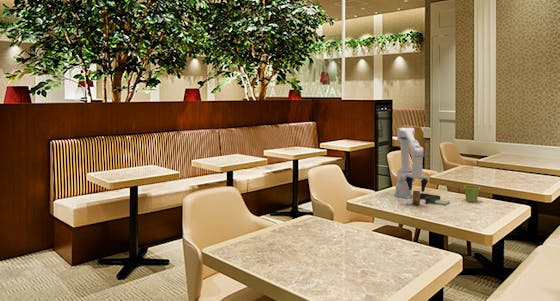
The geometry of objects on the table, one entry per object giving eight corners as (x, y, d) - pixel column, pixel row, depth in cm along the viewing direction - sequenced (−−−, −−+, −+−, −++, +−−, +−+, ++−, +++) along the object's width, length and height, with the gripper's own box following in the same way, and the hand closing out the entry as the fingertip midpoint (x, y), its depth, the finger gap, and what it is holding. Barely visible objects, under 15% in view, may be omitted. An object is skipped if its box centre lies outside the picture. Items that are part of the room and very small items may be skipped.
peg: (411, 204, 253) (411, 191, 252) (414, 203, 256) (414, 190, 255) (417, 205, 251) (418, 192, 250) (420, 204, 254) (421, 191, 253)
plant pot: (477, 203, 254) (478, 189, 252) (461, 201, 259) (461, 187, 258) (481, 200, 261) (482, 186, 260) (465, 198, 267) (465, 184, 266)
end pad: (433, 203, 255) (433, 202, 255) (438, 201, 260) (438, 199, 260) (445, 205, 250) (445, 203, 250) (449, 203, 256) (449, 201, 255)
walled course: (413, 201, 260) (413, 196, 259) (421, 198, 268) (421, 192, 268) (432, 205, 252) (432, 199, 251) (440, 201, 260) (440, 195, 260)
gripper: (402, 167, 252) (401, 190, 254) (426, 170, 243) (425, 193, 245) (407, 166, 258) (407, 188, 259) (431, 168, 248) (430, 191, 250)
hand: (416, 190), depth 252 cm, fingers open, 7 cm apart
